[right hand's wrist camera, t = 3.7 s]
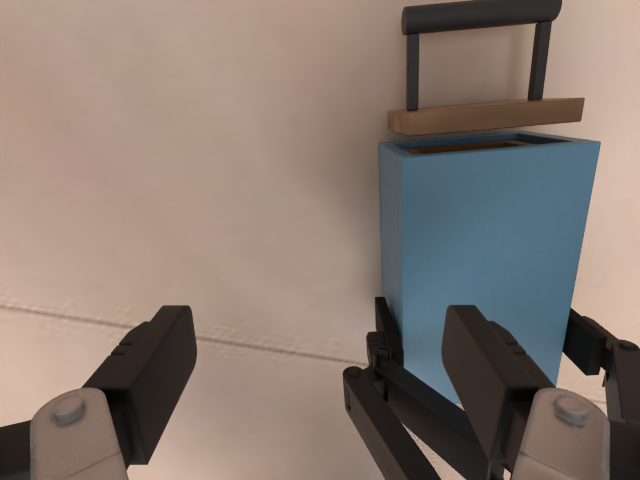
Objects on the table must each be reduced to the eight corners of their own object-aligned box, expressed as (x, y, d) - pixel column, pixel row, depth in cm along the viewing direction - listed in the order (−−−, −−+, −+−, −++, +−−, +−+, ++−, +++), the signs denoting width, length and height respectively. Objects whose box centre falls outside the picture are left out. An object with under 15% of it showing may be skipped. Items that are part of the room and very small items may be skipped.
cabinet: (378, 143, 27) (401, 158, 19) (522, 130, 26) (601, 141, 19) (383, 339, 33) (402, 408, 25) (500, 330, 32) (554, 397, 25)
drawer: (386, 19, 23) (409, -8, 17) (534, 5, 23) (605, -27, 17) (391, 311, 30) (407, 358, 25) (502, 303, 30) (544, 349, 25)
